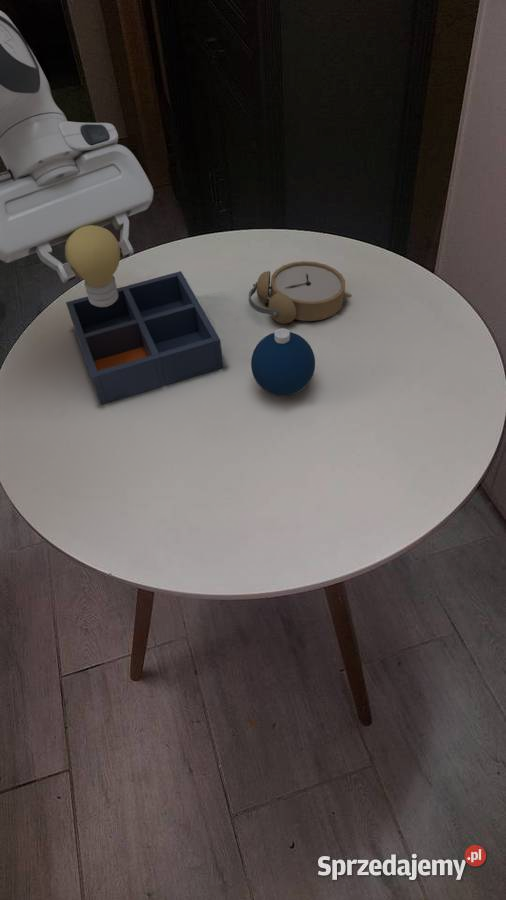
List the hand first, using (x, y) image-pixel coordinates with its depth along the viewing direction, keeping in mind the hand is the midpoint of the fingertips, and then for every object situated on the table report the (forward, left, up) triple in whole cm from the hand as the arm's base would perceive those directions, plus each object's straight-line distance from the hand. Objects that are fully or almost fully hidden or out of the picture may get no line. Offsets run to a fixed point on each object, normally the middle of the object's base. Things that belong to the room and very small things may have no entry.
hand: (99, 267), depth 82 cm
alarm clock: (+28, +6, -18) cm, 34 cm away
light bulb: (0, +1, -6) cm, 6 cm away
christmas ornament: (+19, -10, -18) cm, 29 cm away
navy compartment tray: (+4, +6, -18) cm, 20 cm away
